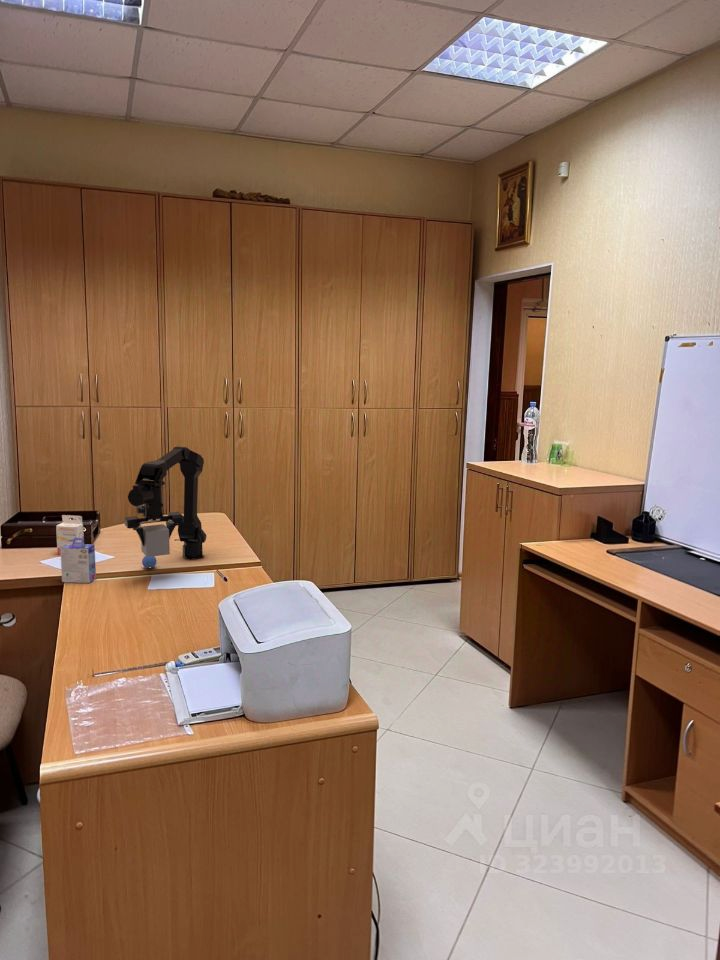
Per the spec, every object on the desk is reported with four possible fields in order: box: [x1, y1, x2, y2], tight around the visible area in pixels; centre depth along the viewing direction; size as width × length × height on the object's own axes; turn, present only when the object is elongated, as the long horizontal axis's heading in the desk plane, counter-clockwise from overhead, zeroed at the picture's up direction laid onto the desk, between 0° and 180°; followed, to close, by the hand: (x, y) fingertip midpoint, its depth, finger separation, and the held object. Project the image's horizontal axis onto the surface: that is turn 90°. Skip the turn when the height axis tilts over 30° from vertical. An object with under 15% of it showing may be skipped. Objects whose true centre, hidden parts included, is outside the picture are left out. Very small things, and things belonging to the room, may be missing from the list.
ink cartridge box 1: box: [55, 514, 85, 556], centre depth 258 cm, size 9×5×15 cm, turn 84°
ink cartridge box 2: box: [60, 537, 97, 584], centre depth 230 cm, size 10×6×14 cm, turn 89°
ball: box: [141, 555, 158, 568], centre depth 245 cm, size 5×5×5 cm
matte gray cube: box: [140, 523, 171, 557], centre depth 233 cm, size 8×8×9 cm
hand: (155, 544), depth 234 cm, fingers closed on matte gray cube, 8 cm apart
